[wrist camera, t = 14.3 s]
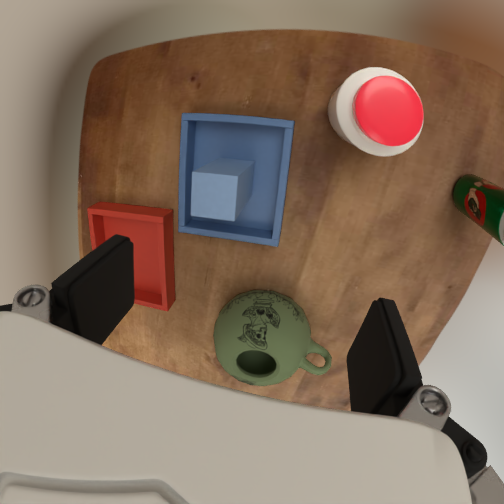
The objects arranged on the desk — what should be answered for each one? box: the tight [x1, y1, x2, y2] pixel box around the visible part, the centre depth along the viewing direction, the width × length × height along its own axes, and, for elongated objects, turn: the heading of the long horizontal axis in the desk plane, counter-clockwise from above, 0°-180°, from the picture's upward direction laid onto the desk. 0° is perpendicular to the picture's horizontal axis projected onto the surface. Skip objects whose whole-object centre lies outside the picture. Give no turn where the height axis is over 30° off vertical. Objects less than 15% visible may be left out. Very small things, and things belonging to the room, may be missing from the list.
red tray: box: [87, 202, 176, 311], centre depth 39 cm, size 14×12×3 cm
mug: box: [213, 290, 332, 386], centre depth 38 cm, size 16×13×9 cm
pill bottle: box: [328, 67, 424, 157], centre depth 23 cm, size 8×8×11 cm
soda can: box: [453, 174, 504, 246], centre depth 24 cm, size 5×5×12 cm
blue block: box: [191, 158, 255, 221], centre depth 29 cm, size 4×4×9 cm
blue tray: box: [178, 113, 295, 247], centre depth 32 cm, size 14×12×3 cm
